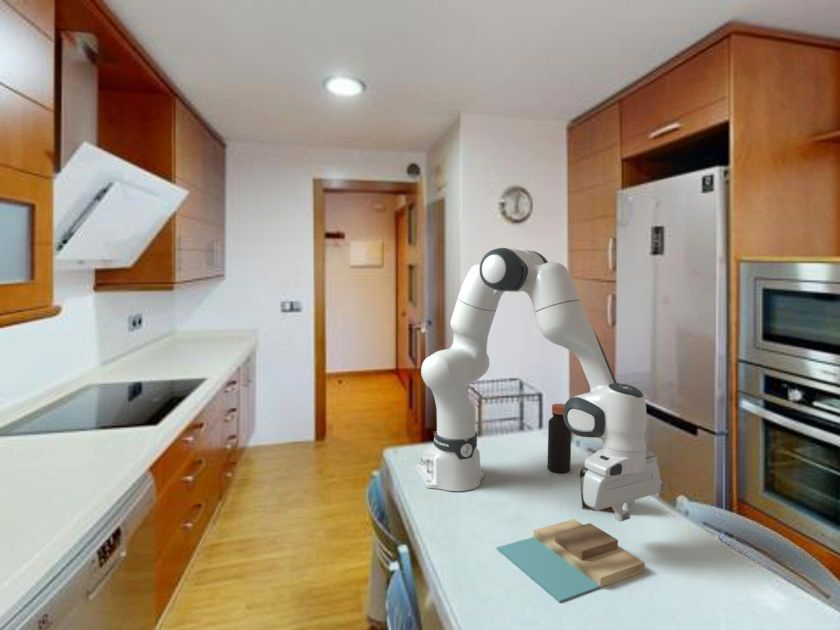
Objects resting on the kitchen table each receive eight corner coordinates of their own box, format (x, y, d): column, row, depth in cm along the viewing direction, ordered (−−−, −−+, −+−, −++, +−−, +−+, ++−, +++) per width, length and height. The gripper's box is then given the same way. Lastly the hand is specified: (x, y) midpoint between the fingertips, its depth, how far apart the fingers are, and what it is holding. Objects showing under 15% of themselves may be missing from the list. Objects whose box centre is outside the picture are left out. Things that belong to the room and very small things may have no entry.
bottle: (573, 468, 156) (574, 404, 155) (566, 475, 151) (568, 409, 149) (551, 463, 160) (553, 401, 158) (544, 470, 154) (545, 406, 153)
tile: (554, 541, 110) (555, 532, 110) (589, 531, 114) (589, 523, 114) (581, 560, 103) (582, 551, 103) (617, 548, 107) (617, 539, 107)
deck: (533, 538, 115) (533, 530, 115) (573, 527, 120) (574, 519, 120) (600, 587, 97) (600, 577, 97) (644, 571, 102) (644, 562, 102)
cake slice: (626, 505, 132) (627, 467, 131) (627, 515, 126) (629, 476, 125) (576, 498, 136) (577, 461, 135) (576, 508, 130) (577, 470, 129)
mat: (496, 549, 111) (496, 547, 111) (533, 538, 115) (533, 537, 115) (559, 602, 93) (559, 600, 93) (600, 587, 97) (600, 585, 97)
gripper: (644, 446, 119) (643, 504, 120) (578, 461, 110) (577, 523, 111) (668, 455, 113) (666, 515, 114) (600, 471, 104) (599, 536, 105)
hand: (622, 519), depth 112 cm, fingers closed
